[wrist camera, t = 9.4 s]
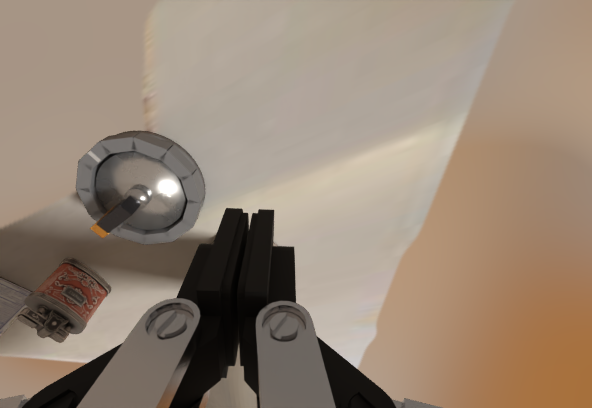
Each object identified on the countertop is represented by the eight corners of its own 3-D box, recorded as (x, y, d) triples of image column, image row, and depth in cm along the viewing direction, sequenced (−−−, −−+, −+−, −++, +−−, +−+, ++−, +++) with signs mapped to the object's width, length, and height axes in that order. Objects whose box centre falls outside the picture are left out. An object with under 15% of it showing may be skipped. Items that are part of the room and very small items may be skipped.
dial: (140, 131, 35) (117, 146, 30) (205, 197, 39) (193, 219, 34) (83, 181, 37) (54, 202, 33) (149, 237, 41) (131, 263, 37)
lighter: (116, 287, 48) (77, 344, 39) (102, 297, 48) (60, 354, 40) (72, 254, 44) (18, 307, 36) (57, 264, 45) (1, 319, 36)
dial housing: (210, 233, 43) (205, 247, 40) (106, 229, 42) (92, 243, 39) (201, 132, 36) (194, 140, 33) (76, 125, 36) (57, 133, 33)
